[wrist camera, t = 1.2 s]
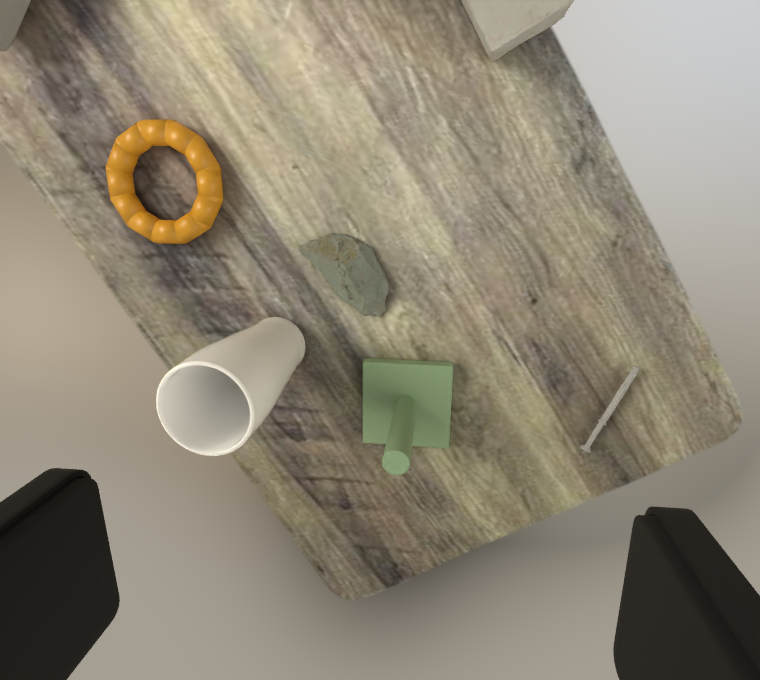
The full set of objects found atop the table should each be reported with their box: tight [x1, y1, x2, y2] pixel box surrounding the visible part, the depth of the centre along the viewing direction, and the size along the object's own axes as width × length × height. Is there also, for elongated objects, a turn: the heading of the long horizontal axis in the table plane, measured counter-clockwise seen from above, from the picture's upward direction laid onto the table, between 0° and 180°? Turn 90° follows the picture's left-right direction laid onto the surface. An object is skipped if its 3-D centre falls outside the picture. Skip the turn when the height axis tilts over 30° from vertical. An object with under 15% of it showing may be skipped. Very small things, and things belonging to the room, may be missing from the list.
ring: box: [106, 120, 223, 244], centre depth 42 cm, size 10×10×2 cm
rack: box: [363, 358, 453, 475], centre depth 40 cm, size 8×8×11 cm
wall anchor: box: [580, 366, 640, 453], centre depth 43 cm, size 1×9×1 cm, turn 157°
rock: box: [299, 234, 389, 317], centre depth 42 cm, size 9×2×5 cm
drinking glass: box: [156, 317, 305, 456], centre depth 38 cm, size 7×7×15 cm
